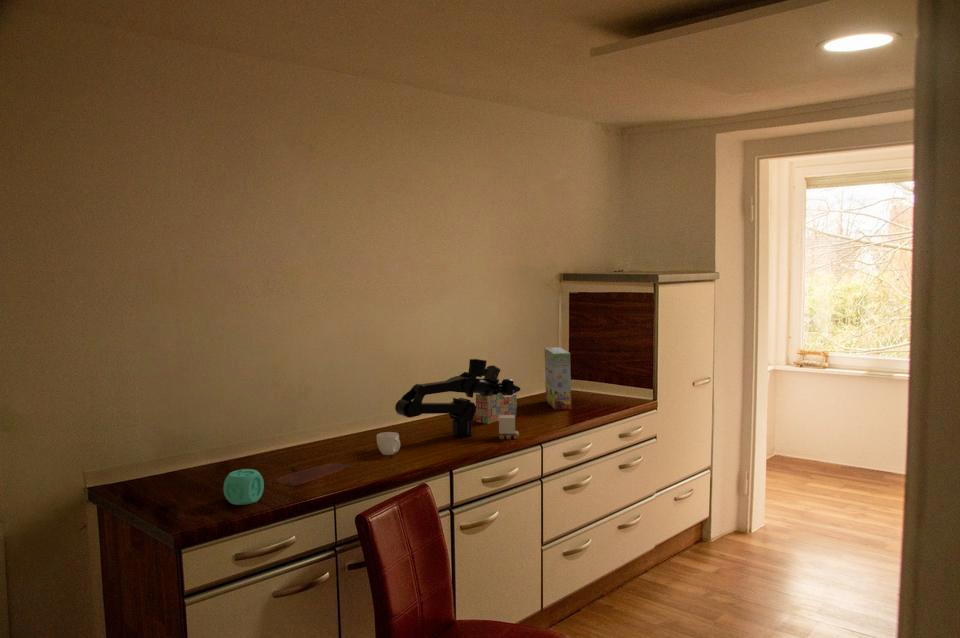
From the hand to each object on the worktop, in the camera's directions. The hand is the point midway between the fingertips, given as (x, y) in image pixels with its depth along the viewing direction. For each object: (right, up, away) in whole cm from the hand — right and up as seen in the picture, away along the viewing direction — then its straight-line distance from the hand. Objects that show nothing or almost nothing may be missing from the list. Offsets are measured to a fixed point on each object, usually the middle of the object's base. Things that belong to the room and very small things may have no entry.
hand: (512, 389), depth 299 cm
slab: (-3, -15, -17) cm, 22 cm away
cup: (-44, -19, -39) cm, 62 cm away
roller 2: (0, -17, -17) cm, 24 cm away
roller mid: (-2, -17, -16) cm, 24 cm away
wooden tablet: (-65, -22, -63) cm, 93 cm away
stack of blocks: (-6, -14, +18) cm, 23 cm away
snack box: (+23, -12, +46) cm, 52 cm away
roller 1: (-5, -17, -16) cm, 24 cm away
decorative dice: (-80, -23, -89) cm, 121 cm away
